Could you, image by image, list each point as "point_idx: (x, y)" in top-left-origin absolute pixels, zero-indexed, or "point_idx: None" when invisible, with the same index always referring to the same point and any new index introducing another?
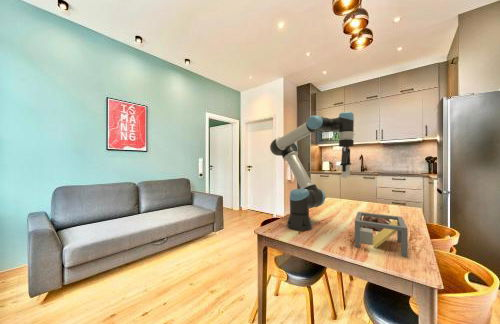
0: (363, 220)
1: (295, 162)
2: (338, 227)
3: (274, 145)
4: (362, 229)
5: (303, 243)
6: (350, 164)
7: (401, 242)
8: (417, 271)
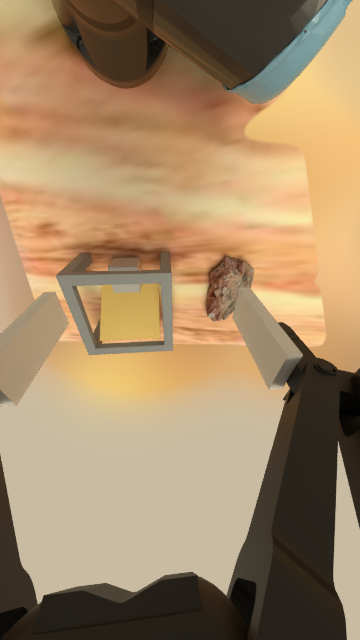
0: (226, 267)
1: None
2: (194, 195)
3: None
4: None
5: None
6: (285, 396)
7: (97, 330)
8: None
